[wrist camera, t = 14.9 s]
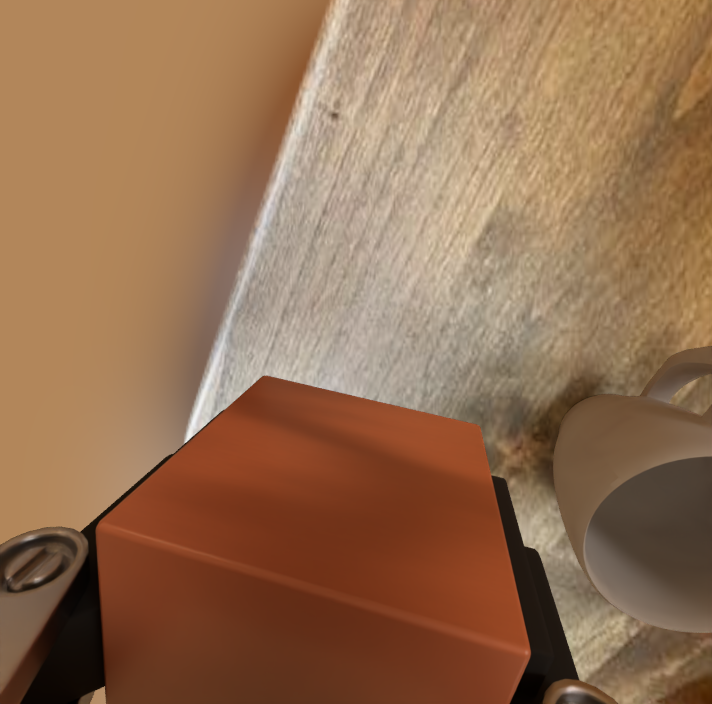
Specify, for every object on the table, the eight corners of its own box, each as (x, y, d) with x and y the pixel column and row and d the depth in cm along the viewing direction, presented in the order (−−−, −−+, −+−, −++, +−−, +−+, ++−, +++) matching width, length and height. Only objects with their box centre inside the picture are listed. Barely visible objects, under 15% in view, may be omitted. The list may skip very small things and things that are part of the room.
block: (247, 541, 11) (107, 777, 6) (263, 373, 9) (90, 525, 5) (429, 593, 10) (426, 899, 6) (481, 424, 9) (535, 655, 4)
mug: (637, 513, 26) (745, 665, 17) (506, 464, 27) (542, 586, 18) (752, 346, 22) (972, 430, 13) (594, 294, 23) (698, 339, 14)
